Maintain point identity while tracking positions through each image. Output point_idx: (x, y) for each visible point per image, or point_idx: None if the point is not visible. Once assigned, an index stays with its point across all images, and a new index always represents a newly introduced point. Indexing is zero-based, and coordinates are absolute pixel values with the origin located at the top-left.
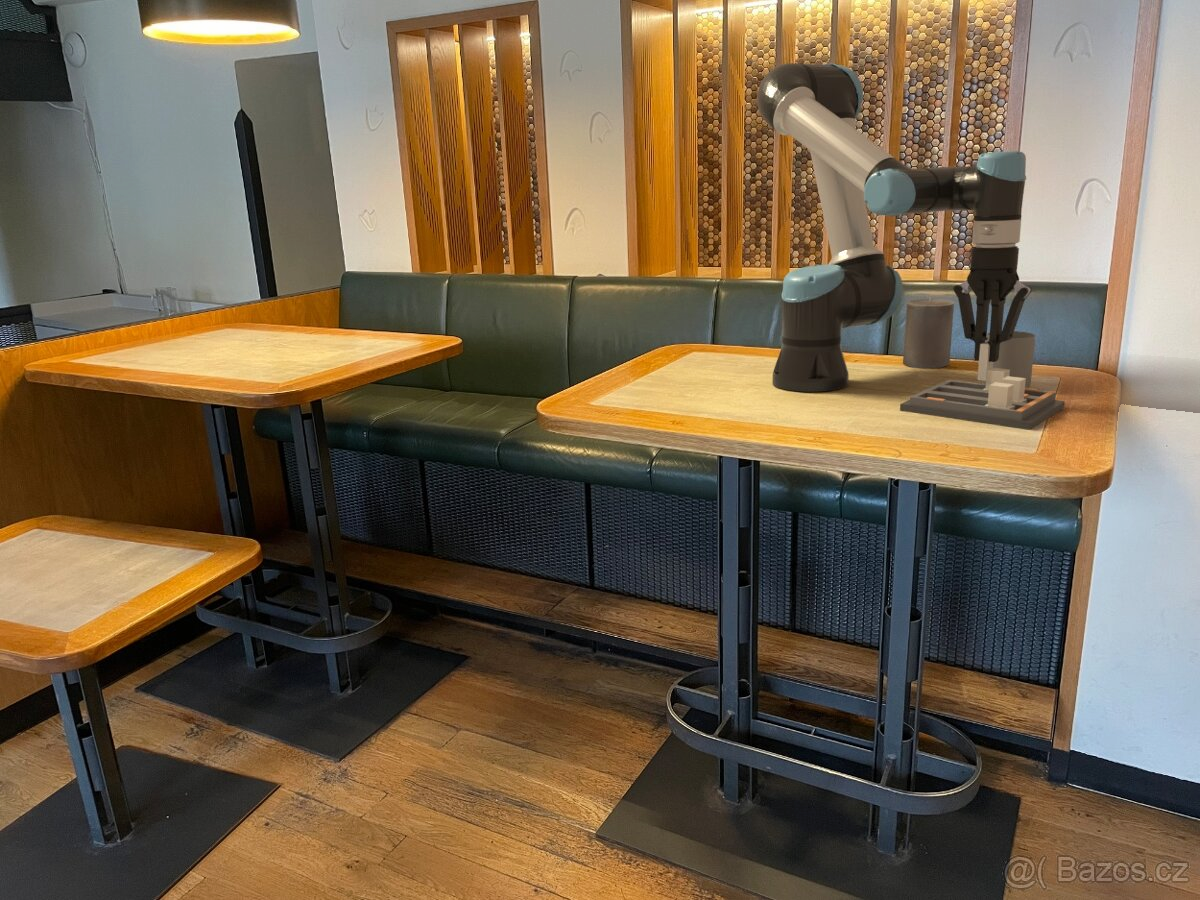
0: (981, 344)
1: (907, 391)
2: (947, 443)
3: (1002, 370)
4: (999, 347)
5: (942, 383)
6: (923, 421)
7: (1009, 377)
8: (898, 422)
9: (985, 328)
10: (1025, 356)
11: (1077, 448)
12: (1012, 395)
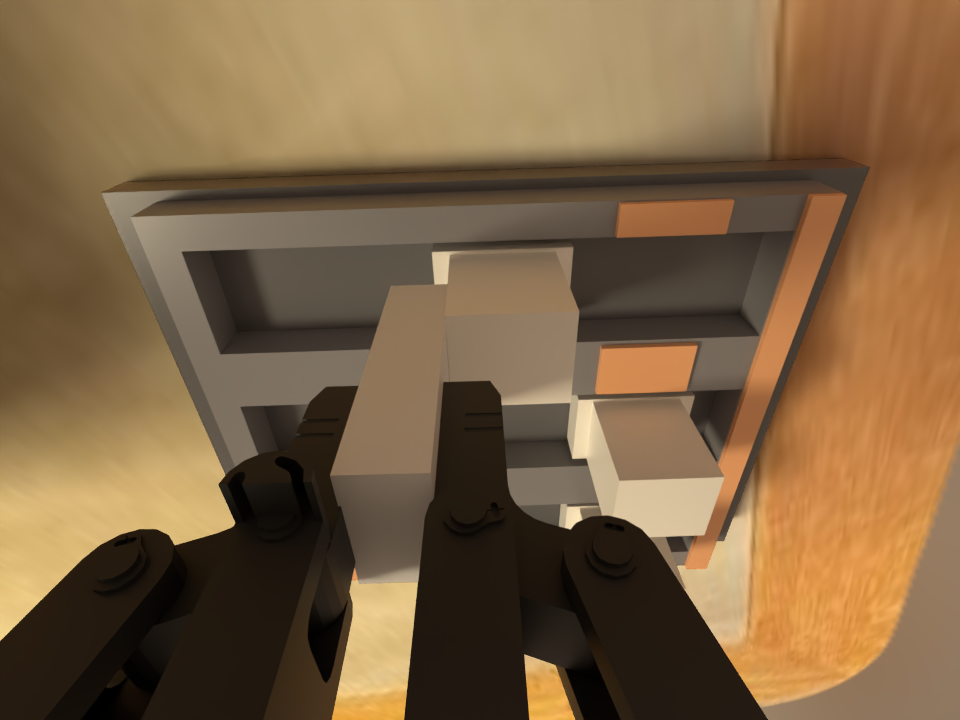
0: (371, 580)
1: (7, 276)
2: (552, 666)
3: (541, 363)
4: (506, 468)
5: (190, 333)
6: (409, 583)
7: (636, 500)
8: (361, 614)
9: (297, 704)
10: None
11: (845, 584)
12: (666, 544)
